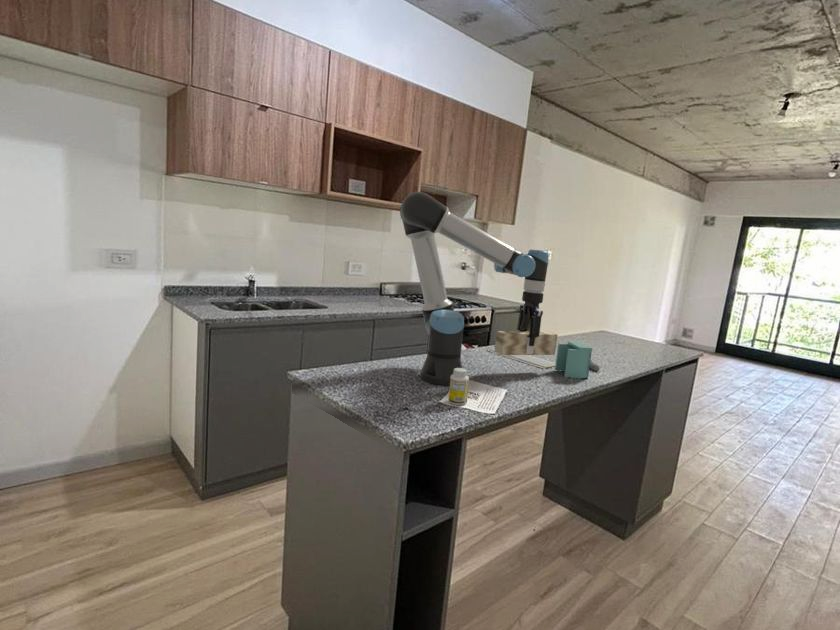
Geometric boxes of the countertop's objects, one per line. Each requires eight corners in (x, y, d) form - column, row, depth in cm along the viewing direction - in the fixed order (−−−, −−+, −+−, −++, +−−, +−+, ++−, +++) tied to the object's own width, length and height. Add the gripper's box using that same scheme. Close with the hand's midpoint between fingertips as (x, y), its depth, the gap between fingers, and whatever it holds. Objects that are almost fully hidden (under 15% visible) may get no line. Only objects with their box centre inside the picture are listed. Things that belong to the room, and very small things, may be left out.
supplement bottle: (457, 398, 140) (460, 366, 138) (470, 403, 135) (473, 370, 134) (444, 401, 136) (447, 368, 134) (457, 407, 132) (460, 373, 130)
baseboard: (541, 371, 180) (559, 368, 187) (542, 364, 179) (560, 361, 187) (485, 352, 204) (503, 350, 211) (485, 346, 203) (503, 344, 211)
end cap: (565, 377, 171) (569, 346, 169) (554, 370, 181) (558, 340, 179) (587, 378, 172) (592, 348, 170) (576, 371, 182) (580, 342, 180)
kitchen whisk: (591, 373, 181) (593, 358, 180) (559, 352, 215) (561, 339, 214) (606, 374, 182) (608, 358, 181) (572, 353, 215) (573, 340, 214)
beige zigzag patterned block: (501, 355, 166) (504, 333, 165) (494, 351, 171) (497, 330, 169) (554, 354, 175) (557, 334, 174) (546, 351, 180) (549, 331, 178)
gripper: (555, 295, 161) (546, 358, 165) (530, 289, 179) (522, 346, 182) (536, 294, 159) (527, 358, 163) (513, 287, 177) (505, 345, 180)
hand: (525, 351), depth 173 cm, fingers closed on beige zigzag patterned block, 5 cm apart
